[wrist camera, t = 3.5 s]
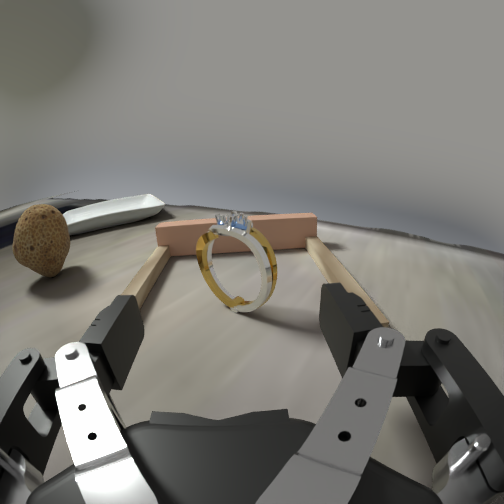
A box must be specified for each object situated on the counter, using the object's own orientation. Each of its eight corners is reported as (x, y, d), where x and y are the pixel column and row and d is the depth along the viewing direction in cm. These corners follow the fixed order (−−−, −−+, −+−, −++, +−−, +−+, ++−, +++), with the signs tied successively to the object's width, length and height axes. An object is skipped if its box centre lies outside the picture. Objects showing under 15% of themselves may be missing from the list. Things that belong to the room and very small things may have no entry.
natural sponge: (14, 295, 25) (-7, 219, 22) (34, 269, 33) (20, 206, 29) (70, 284, 28) (51, 202, 24) (83, 260, 36) (70, 193, 32)
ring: (283, 315, 22) (283, 214, 19) (257, 334, 19) (251, 224, 17) (222, 290, 26) (214, 205, 23) (196, 304, 24) (183, 213, 21)
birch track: (316, 247, 36) (316, 235, 35) (384, 339, 17) (389, 322, 17) (159, 257, 35) (158, 246, 35) (97, 355, 17) (90, 339, 16)
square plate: (151, 204, 80) (149, 191, 79) (168, 220, 58) (166, 202, 56) (67, 221, 69) (65, 209, 67) (49, 246, 46) (45, 228, 45)
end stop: (311, 241, 38) (311, 212, 37) (316, 247, 36) (316, 217, 34) (164, 250, 38) (160, 222, 36) (159, 257, 35) (155, 227, 34)
